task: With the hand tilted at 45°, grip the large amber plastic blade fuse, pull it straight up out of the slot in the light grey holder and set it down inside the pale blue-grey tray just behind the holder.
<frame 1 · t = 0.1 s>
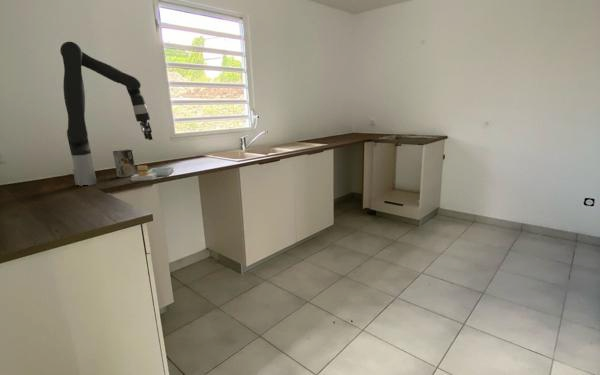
hand: (149, 139, 199), 22 cm above the countertop, tool pointing down, fingers open, 8 cm apart
fuse: (143, 172, 193), in the fuse holder
fuse holder: (144, 179, 194), on the countertop
coffee box: (126, 175, 205), on the countertop
tray: (160, 174, 206), on the countertop
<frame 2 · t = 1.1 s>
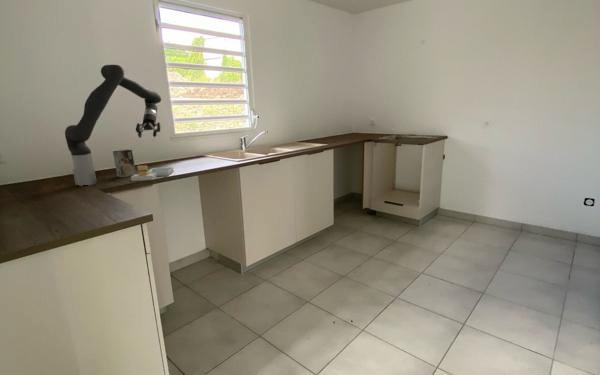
hand: (147, 136, 203), 24 cm above the countertop, tool tilted 45°, fingers open, 8 cm apart
nothing on the countertop moved.
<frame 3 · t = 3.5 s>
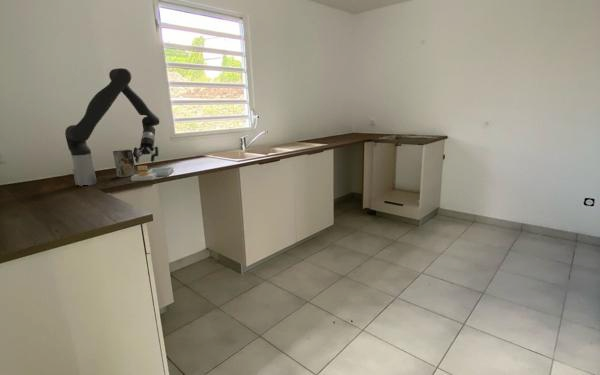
hand: (144, 161, 196), 10 cm above the countertop, tool tilted 45°, fingers open, 8 cm apart
nothing on the countertop moved.
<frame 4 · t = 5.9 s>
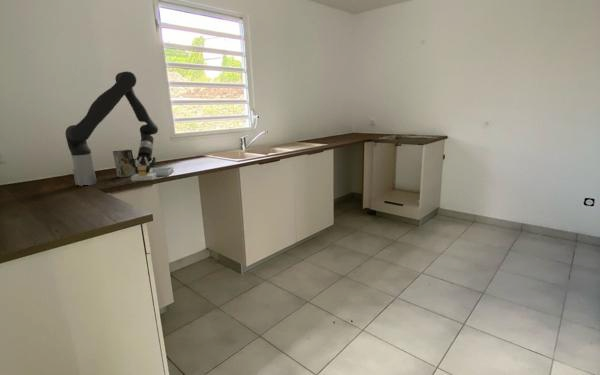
hand: (142, 172, 191), 4 cm above the countertop, tool tilted 45°, fingers closed on fuse, 5 cm apart
fuse: (143, 172, 193), in the fuse holder, touching gripper
everything else where it was.
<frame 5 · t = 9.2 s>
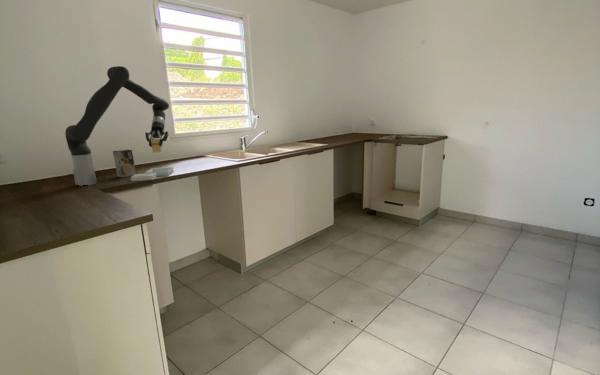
hand: (155, 145, 200), 18 cm above the countertop, tool tilted 45°, fingers closed on fuse, 5 cm apart
fuse: (156, 145, 201), point 18 cm above the countertop, touching gripper
everything else where it was.
when the fingers open (6 cm above the countertop, at t = 12.4 s): fuse stays where it is, resting on tray.
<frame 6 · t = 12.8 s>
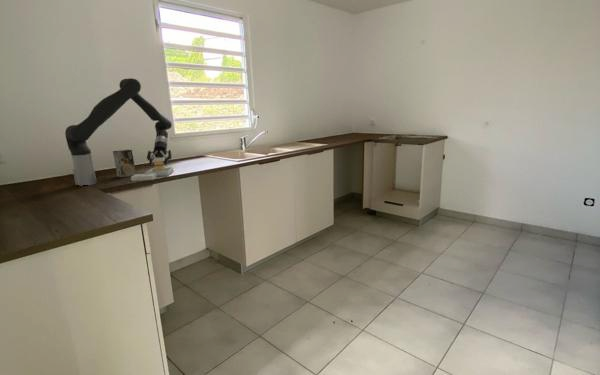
hand: (158, 164, 203), 6 cm above the countertop, tool tilted 45°, fingers open, 8 cm apart
fuse: (159, 166, 205), in the tray, point 5 cm above the countertop
everything else where it was.
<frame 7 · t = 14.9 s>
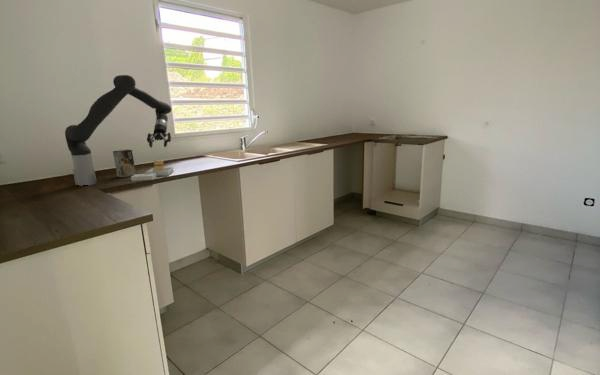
hand: (157, 146, 207), 17 cm above the countertop, tool tilted 45°, fingers open, 8 cm apart
nothing on the countertop moved.
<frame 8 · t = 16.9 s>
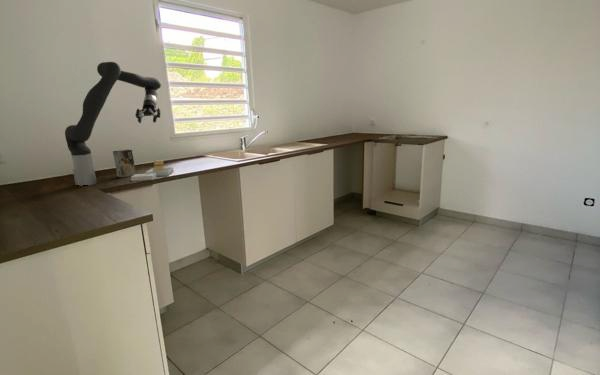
hand: (146, 122, 202), 33 cm above the countertop, tool tilted 45°, fingers open, 8 cm apart
nothing on the countertop moved.
at the end: fuse inside the target area on the tray (0.1 cm from its centre), point 4.8 cm above the tray's base; the gripper is holding nothing; fuse touching tray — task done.
